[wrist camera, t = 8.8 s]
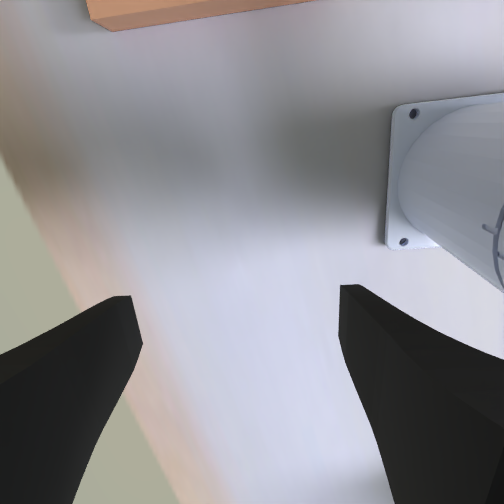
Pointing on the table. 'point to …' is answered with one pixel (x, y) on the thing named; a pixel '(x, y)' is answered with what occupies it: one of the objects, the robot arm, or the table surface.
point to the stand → (168, 10)
